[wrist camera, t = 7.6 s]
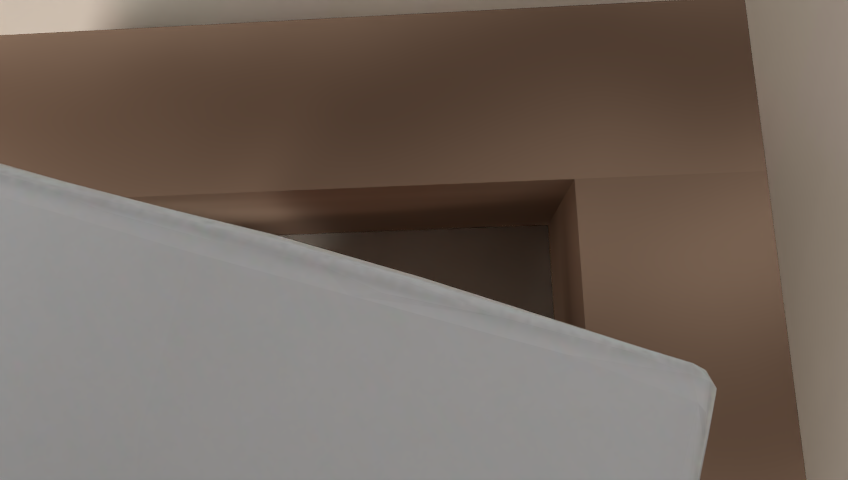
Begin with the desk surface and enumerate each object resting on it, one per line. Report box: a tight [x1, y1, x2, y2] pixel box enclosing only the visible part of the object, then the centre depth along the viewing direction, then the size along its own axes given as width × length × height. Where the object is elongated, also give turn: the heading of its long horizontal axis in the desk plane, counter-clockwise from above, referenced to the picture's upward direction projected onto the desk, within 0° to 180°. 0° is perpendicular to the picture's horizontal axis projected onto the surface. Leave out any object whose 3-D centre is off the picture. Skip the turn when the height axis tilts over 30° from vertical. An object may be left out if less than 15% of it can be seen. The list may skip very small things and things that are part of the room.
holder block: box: [0, 0, 806, 480], centre depth 14 cm, size 16×16×4 cm
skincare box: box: [0, 164, 717, 480], centre depth 9 cm, size 6×4×12 cm
